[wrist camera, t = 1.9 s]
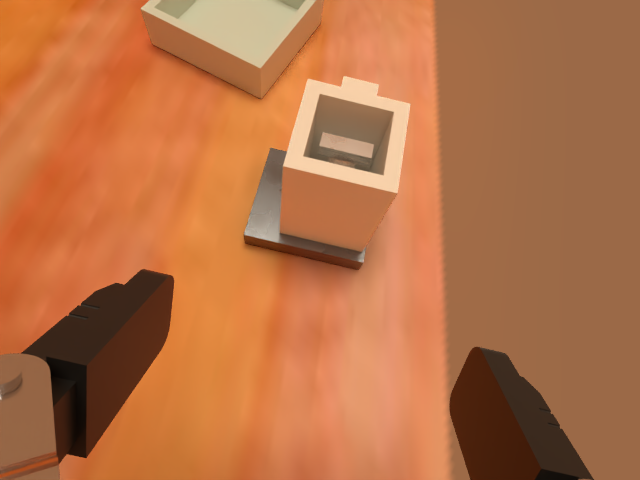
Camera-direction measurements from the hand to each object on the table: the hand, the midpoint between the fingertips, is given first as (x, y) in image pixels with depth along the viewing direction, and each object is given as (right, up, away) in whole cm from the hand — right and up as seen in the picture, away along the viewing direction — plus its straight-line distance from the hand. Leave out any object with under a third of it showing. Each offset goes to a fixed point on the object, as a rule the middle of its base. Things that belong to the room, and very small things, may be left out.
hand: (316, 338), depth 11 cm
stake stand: (0, +5, +18) cm, 19 cm away
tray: (-7, +21, +24) cm, 32 cm away
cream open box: (+1, +5, +17) cm, 18 cm away
